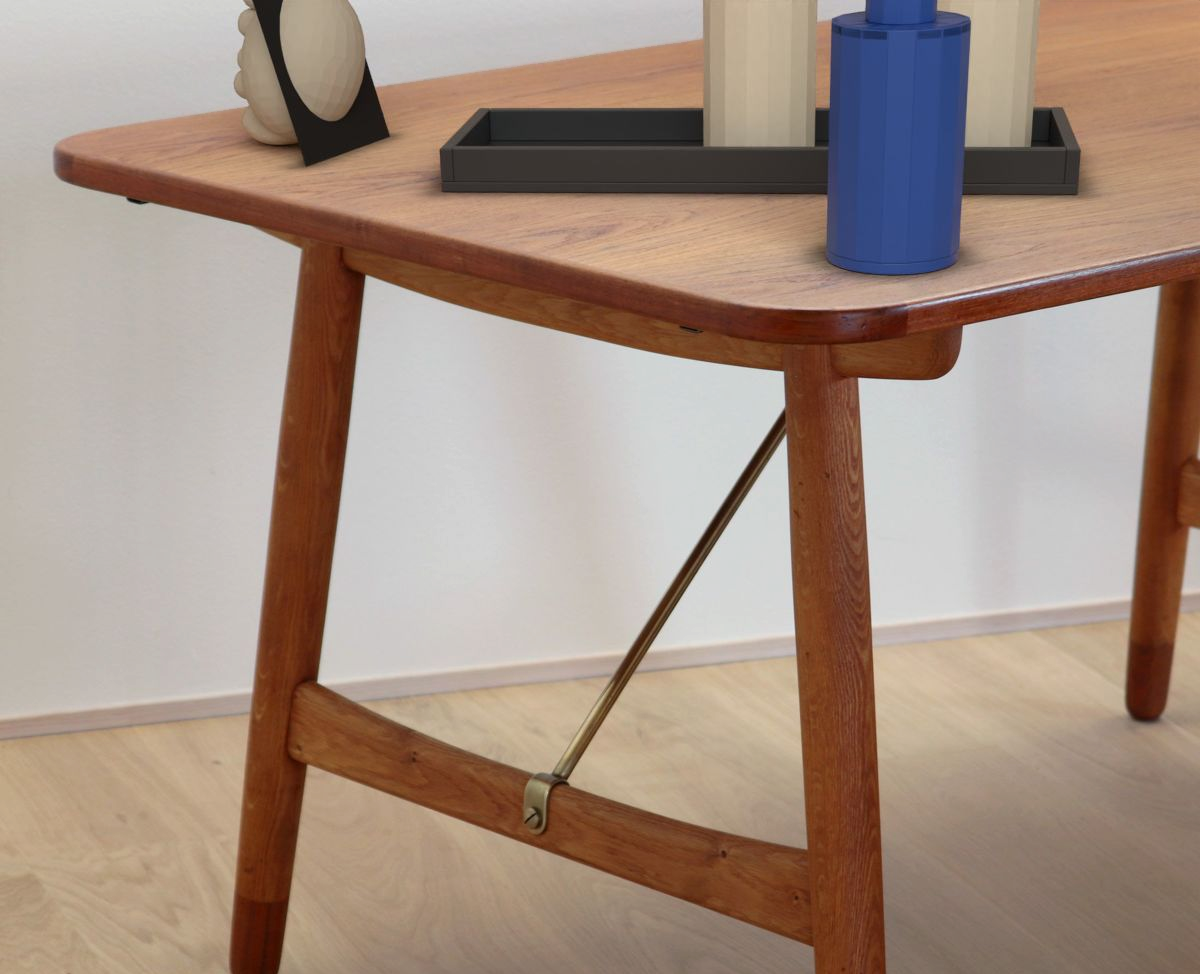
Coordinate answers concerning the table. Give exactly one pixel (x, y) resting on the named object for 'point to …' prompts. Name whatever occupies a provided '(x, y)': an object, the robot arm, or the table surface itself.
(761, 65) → the cream bottle mid
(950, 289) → the table surface
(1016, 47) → the cream bottle far
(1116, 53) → the table surface
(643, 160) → the tray
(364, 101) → the decorative object
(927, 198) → the blue bottle
